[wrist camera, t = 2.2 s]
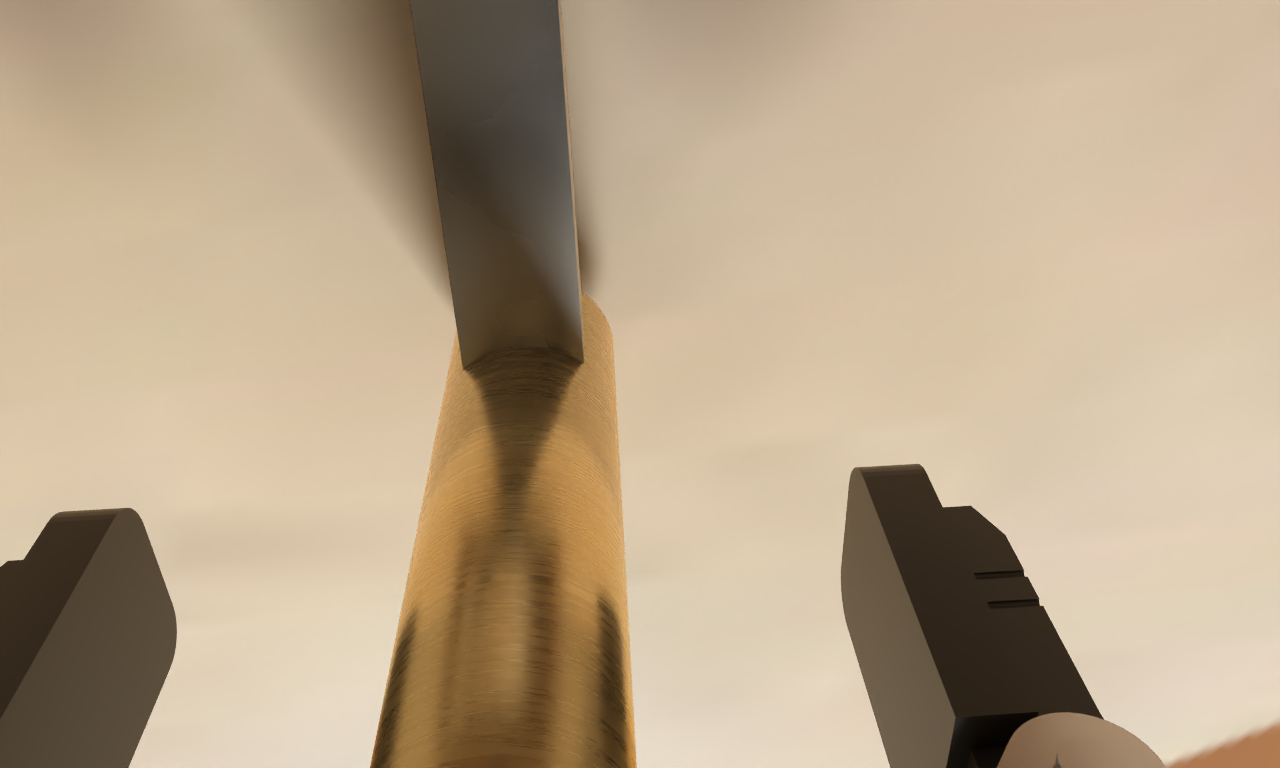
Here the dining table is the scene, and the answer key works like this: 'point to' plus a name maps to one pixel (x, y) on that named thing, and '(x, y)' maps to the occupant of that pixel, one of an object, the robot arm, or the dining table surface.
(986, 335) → the dining table surface
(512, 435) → the lever handle
